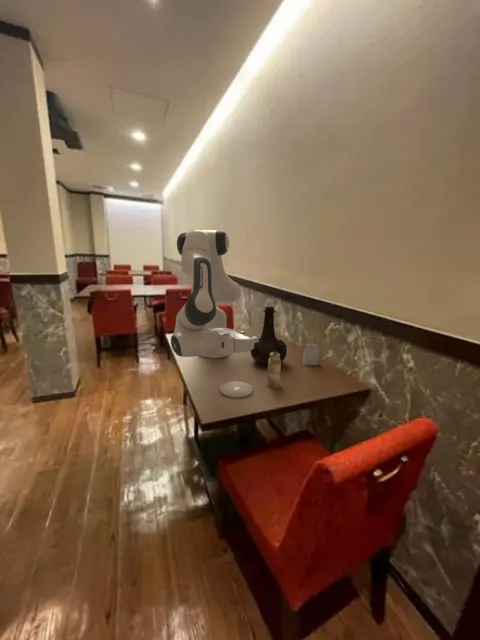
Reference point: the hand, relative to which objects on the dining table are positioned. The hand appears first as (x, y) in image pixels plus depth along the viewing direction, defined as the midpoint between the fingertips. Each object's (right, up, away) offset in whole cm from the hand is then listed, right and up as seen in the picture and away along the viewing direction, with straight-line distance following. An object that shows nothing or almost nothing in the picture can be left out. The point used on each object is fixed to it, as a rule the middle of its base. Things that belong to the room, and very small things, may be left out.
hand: (250, 336), depth 116 cm
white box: (+31, -16, +37) cm, 51 cm away
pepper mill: (+10, -21, +11) cm, 25 cm away
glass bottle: (+10, -15, +37) cm, 42 cm away
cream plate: (-5, -22, +5) cm, 23 cm away
